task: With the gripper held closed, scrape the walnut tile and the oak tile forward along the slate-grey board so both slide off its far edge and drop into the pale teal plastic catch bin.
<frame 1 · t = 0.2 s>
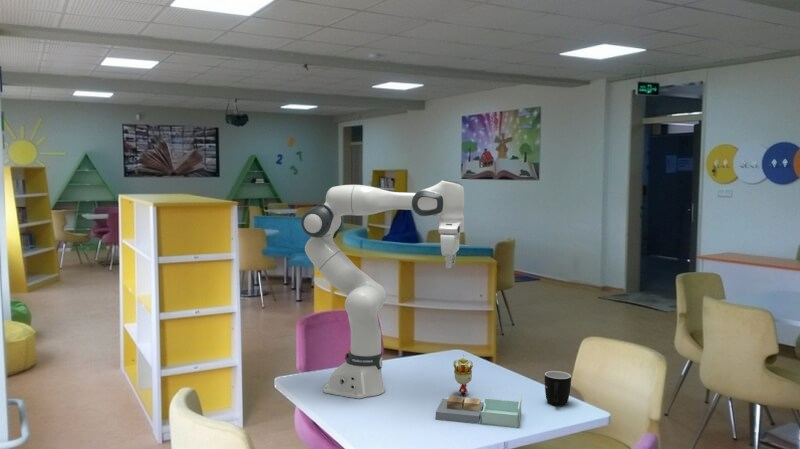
hand: (450, 266, 226), 47 cm above the table, fingers open, 8 cm apart
mug: (556, 405, 224), on the table
toy: (462, 395, 233), on the table
tile a: (472, 408, 213), point 2 cm above the table, touching board
tile b: (455, 406, 214), point 2 cm above the table, touching board
bin: (501, 418, 210), on the table
board: (460, 414, 214), on the table
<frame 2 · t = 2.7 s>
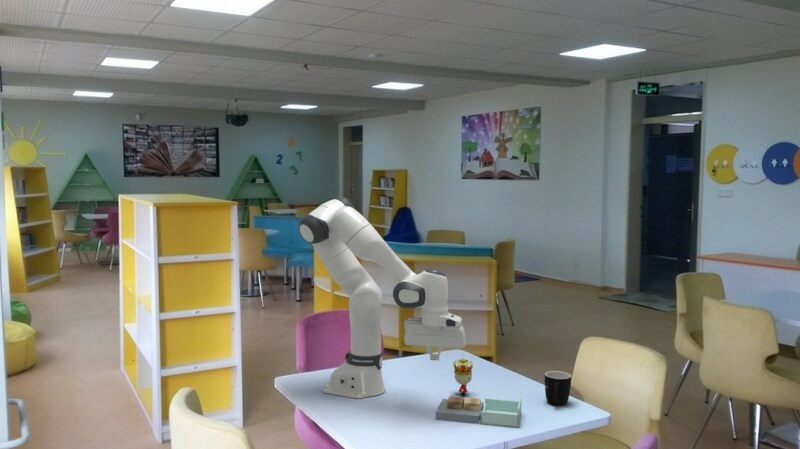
hand: (434, 359, 214), 18 cm above the table, fingers closed
nothing on the table moved.
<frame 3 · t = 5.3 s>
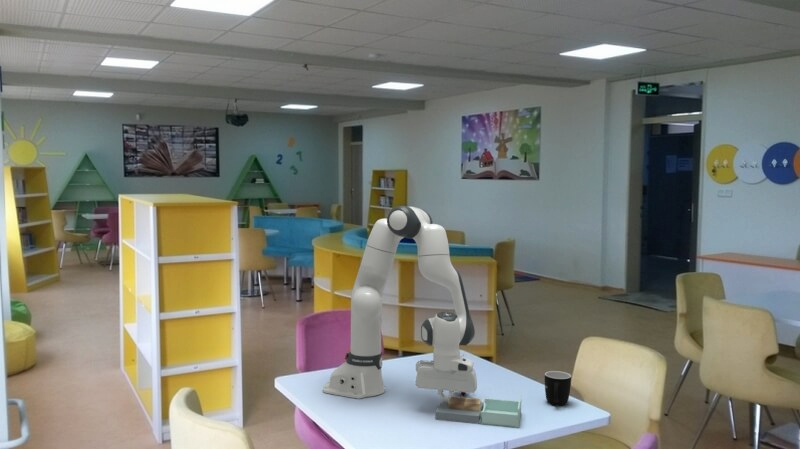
hand: (445, 402, 214), 3 cm above the table, fingers closed
tile a: (472, 408, 212), point 3 cm above the table, touching tile b
tile b: (457, 406, 214), point 3 cm above the table, touching gripper, tile a
everything else where it was.
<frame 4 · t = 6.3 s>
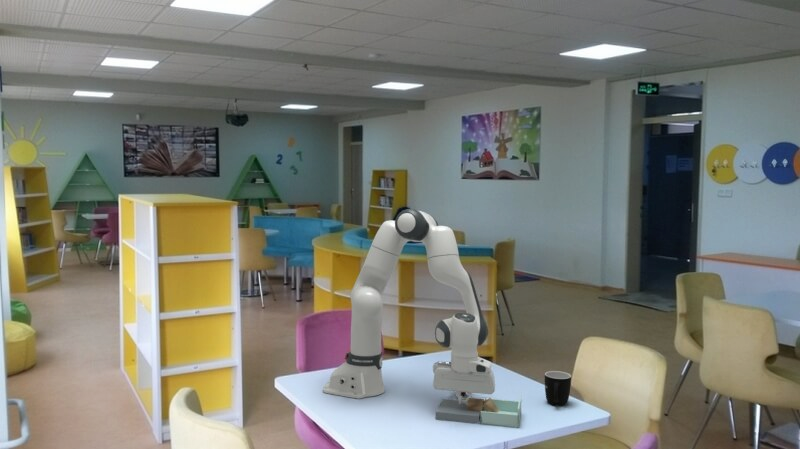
hand: (463, 404, 213), 4 cm above the table, fingers closed
tile a: (487, 409, 211), point 2 cm above the table, tilted 55°, touching bin
tile b: (475, 408, 212), point 3 cm above the table, touching gripper
everything else where it was.
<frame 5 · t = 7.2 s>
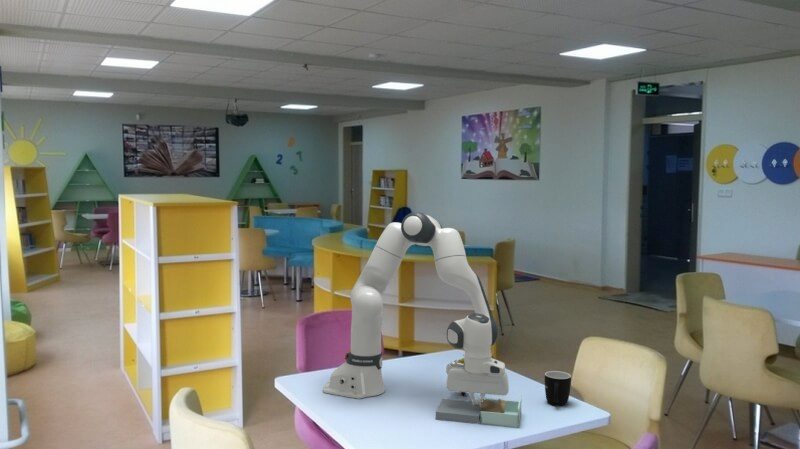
hand: (477, 405, 212), 4 cm above the table, fingers closed
tile a: (496, 408, 211), point 3 cm above the table, tilted 96°, touching bin, tile b
tile b: (488, 410, 211), point 2 cm above the table, tilted 7°, touching bin, gripper, tile a
everything else where it was.
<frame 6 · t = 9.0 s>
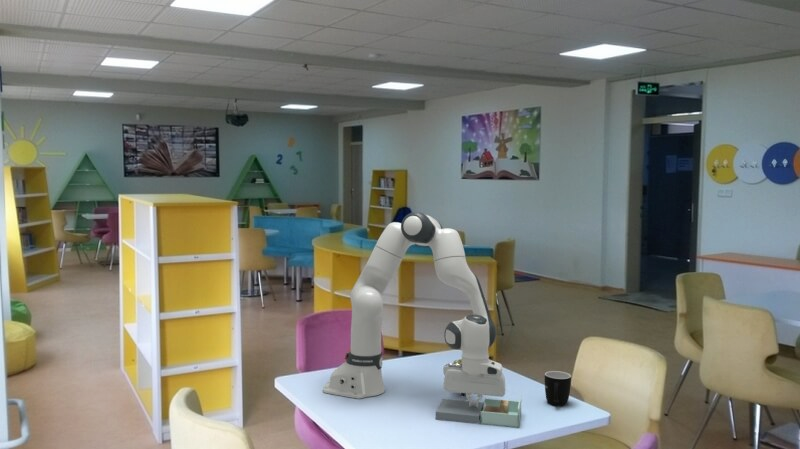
hand: (473, 406, 212), 3 cm above the table, fingers closed
tile a: (500, 409, 210), point 3 cm above the table, tilted 90°, touching bin
tile b: (492, 416, 211), resting on bin
everything else where it was.
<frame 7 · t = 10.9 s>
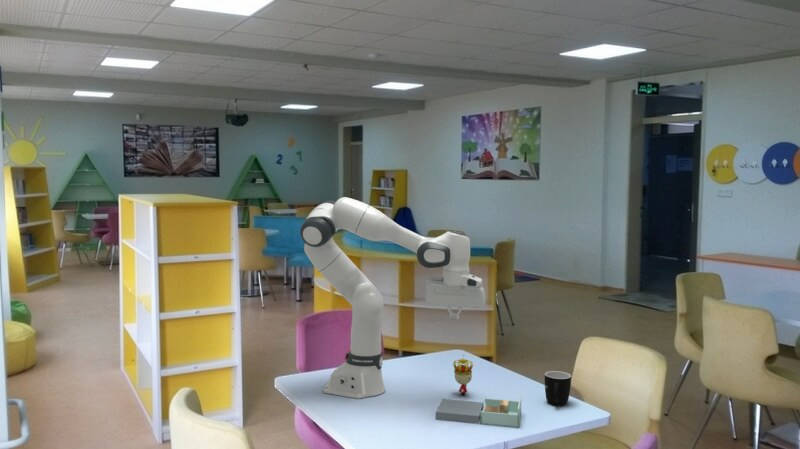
hand: (454, 318, 220), 30 cm above the table, fingers closed
nothing on the table moved.
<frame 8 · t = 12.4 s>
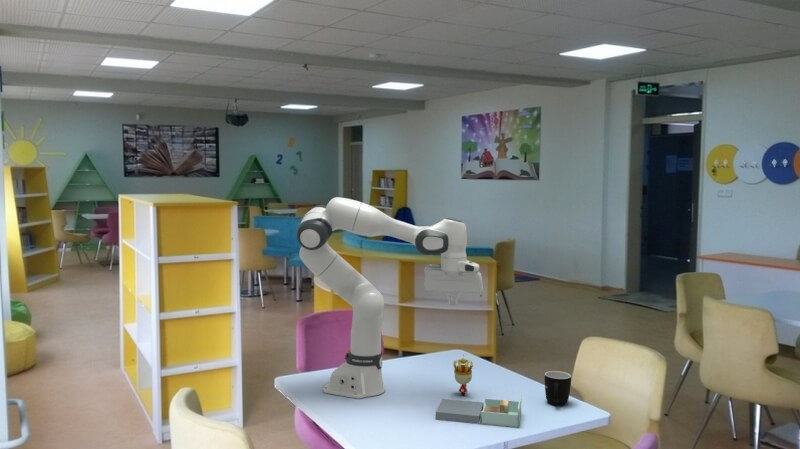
hand: (453, 304, 225), 34 cm above the table, fingers closed
nothing on the table moved.
at the end: tile a inside the target area (0.6 cm from its centre), point 2.9 cm above the table; tile b inside the target area (3.2 cm from its centre), resting on bin; tile b touching bin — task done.
